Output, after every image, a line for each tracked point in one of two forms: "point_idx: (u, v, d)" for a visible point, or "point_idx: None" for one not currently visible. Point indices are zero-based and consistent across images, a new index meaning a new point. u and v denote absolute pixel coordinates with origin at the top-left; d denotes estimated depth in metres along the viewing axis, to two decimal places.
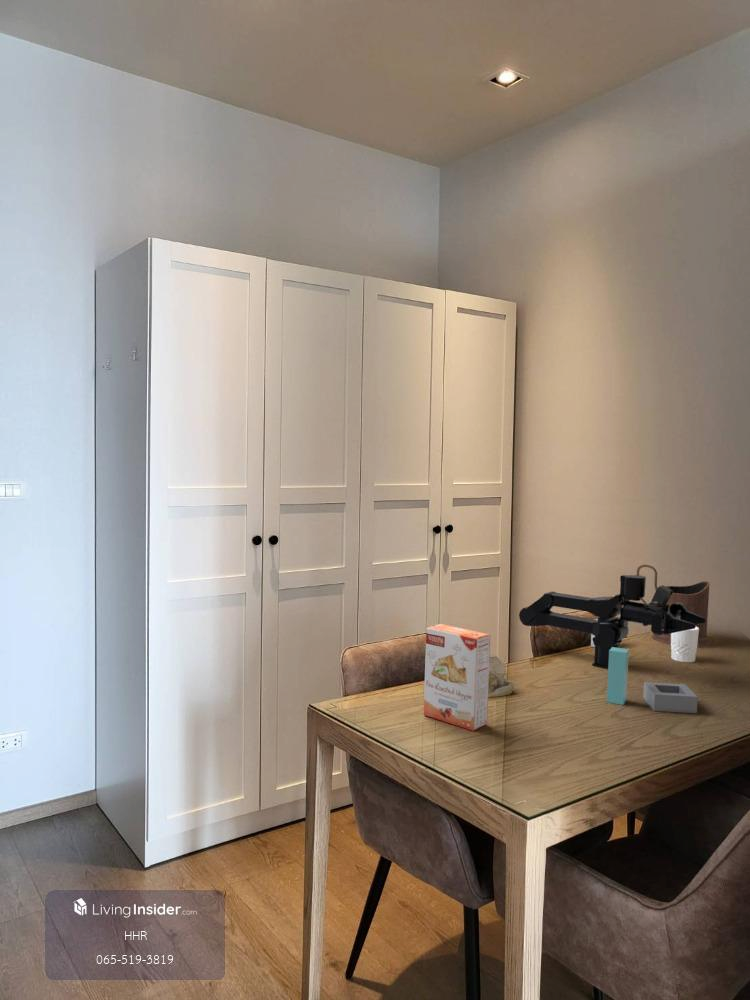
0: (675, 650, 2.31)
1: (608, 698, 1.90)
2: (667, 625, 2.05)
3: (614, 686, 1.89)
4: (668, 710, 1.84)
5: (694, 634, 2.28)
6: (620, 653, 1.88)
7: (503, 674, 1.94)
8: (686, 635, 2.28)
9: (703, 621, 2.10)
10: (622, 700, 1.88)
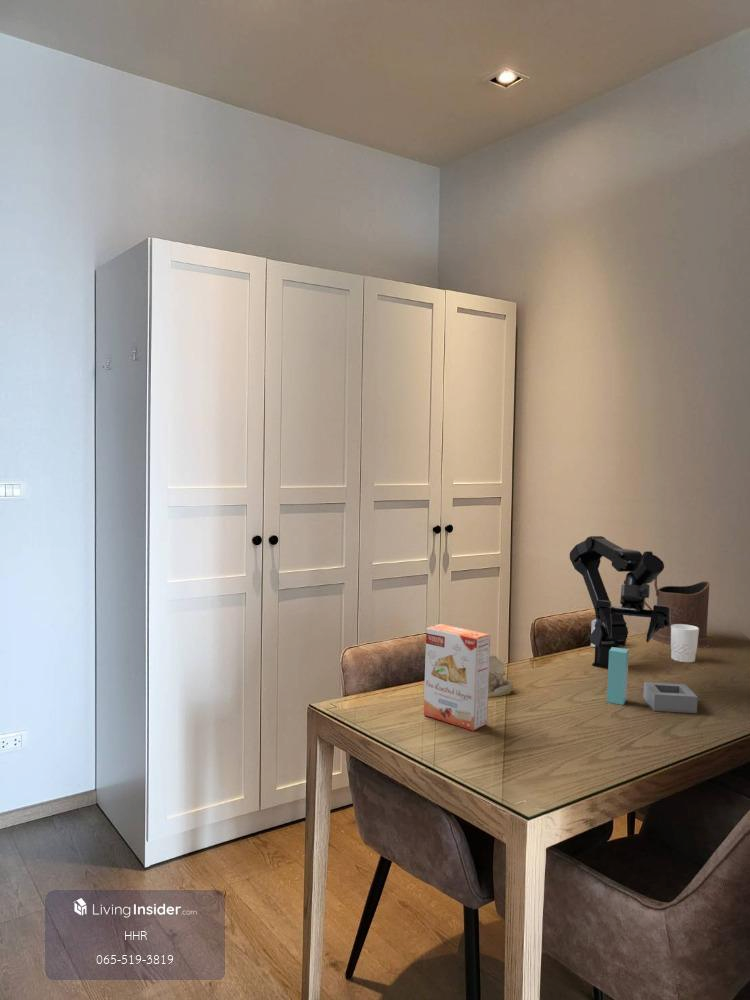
0: (675, 650, 2.31)
1: (608, 698, 1.90)
2: (604, 617, 2.04)
3: (614, 686, 1.89)
4: (668, 710, 1.84)
5: (694, 634, 2.28)
6: (620, 653, 1.88)
7: (502, 674, 1.95)
8: (686, 635, 2.28)
9: None
10: (622, 700, 1.88)
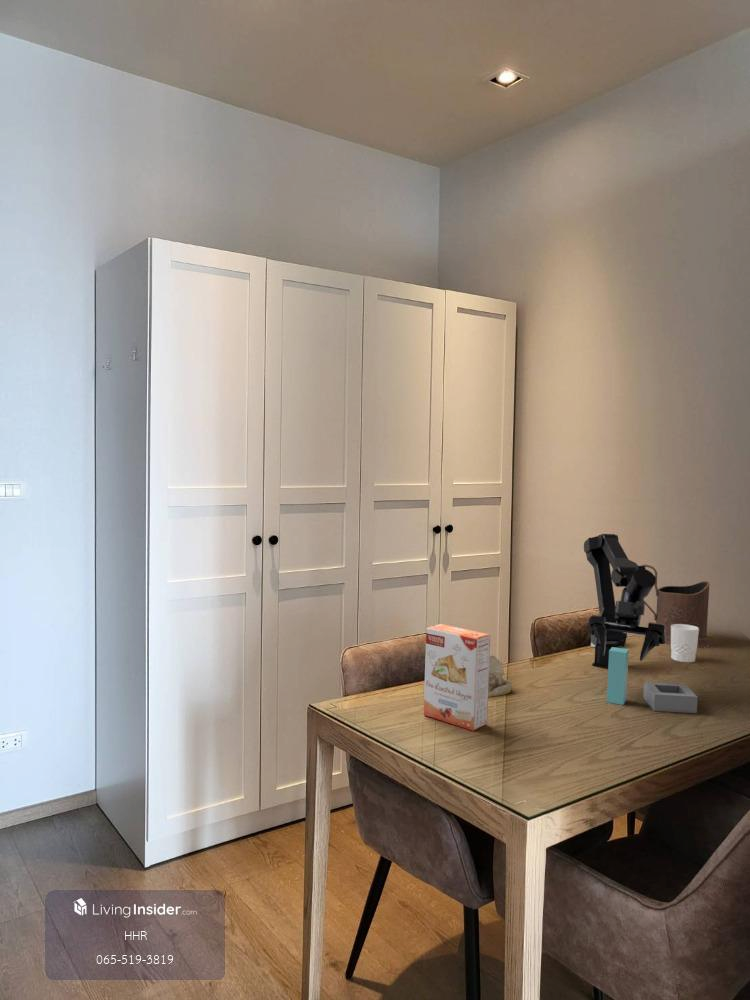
0: (675, 650, 2.31)
1: (608, 698, 1.90)
2: (598, 633, 2.01)
3: (614, 686, 1.89)
4: (668, 710, 1.84)
5: (694, 634, 2.28)
6: (620, 653, 1.88)
7: (501, 673, 1.95)
8: (686, 635, 2.28)
9: None
10: (622, 700, 1.88)
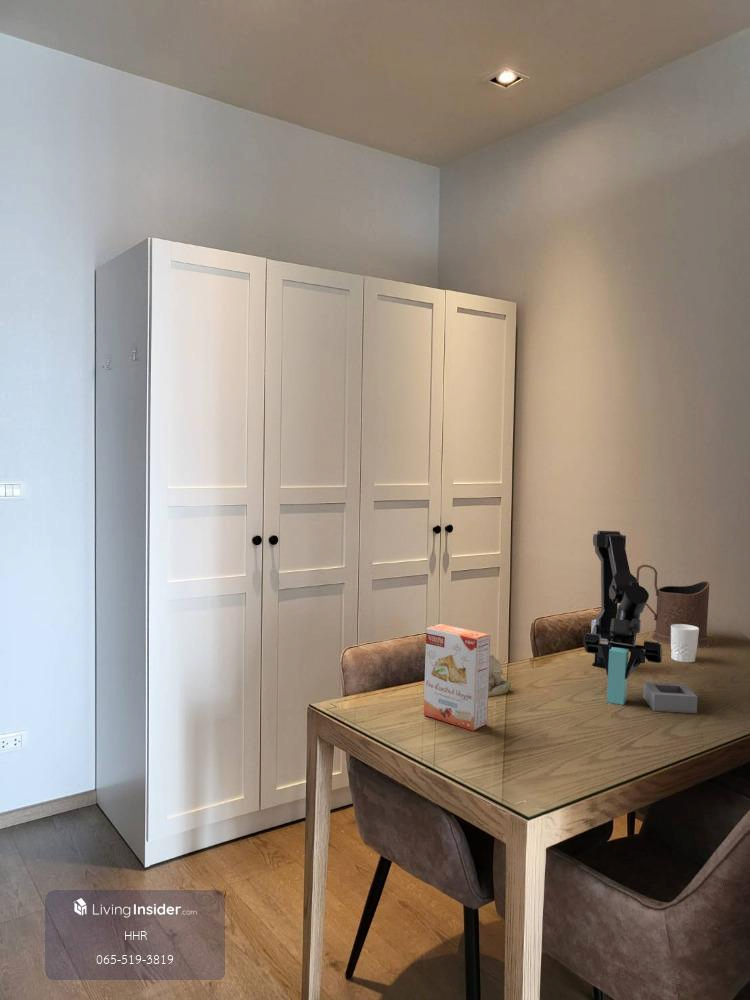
0: (675, 650, 2.31)
1: (608, 698, 1.90)
2: (602, 652, 1.96)
3: (614, 685, 1.89)
4: (668, 710, 1.84)
5: (694, 634, 2.28)
6: (620, 653, 1.88)
7: (500, 673, 1.95)
8: (686, 635, 2.28)
9: None
10: (622, 700, 1.88)
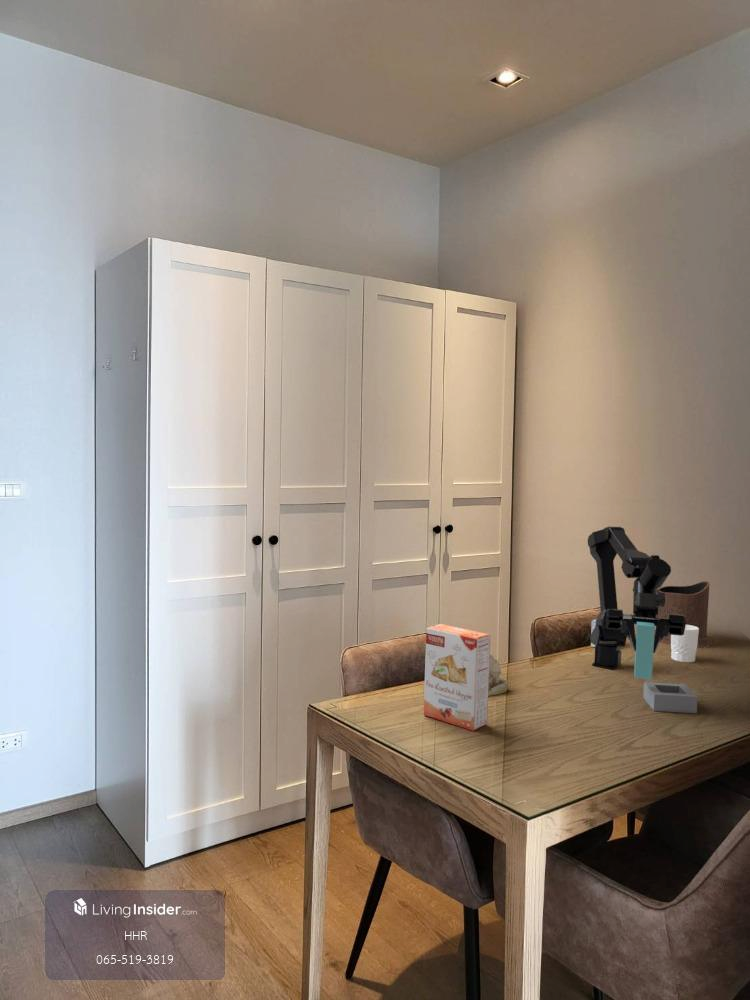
0: (675, 650, 2.31)
1: (636, 673, 1.88)
2: (625, 628, 1.93)
3: (643, 660, 1.87)
4: (668, 710, 1.84)
5: (694, 634, 2.28)
6: (649, 627, 1.86)
7: (498, 672, 1.96)
8: (686, 635, 2.28)
9: (653, 650, 1.87)
10: (651, 674, 1.87)
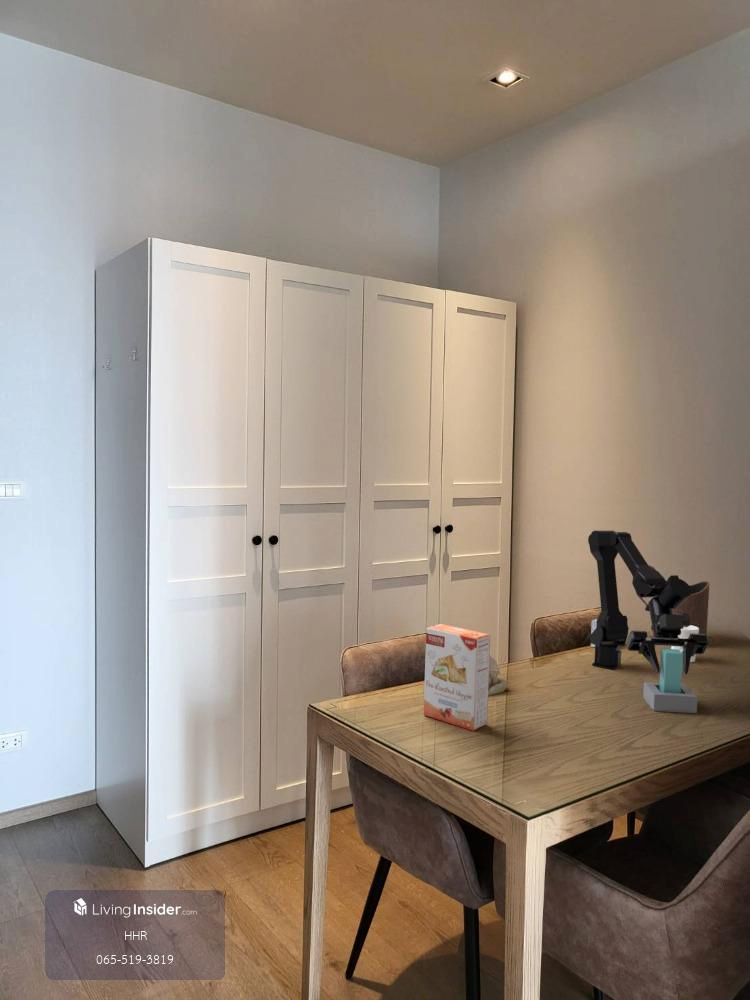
0: None
1: None
2: (644, 649, 1.92)
3: (671, 688, 1.87)
4: (668, 710, 1.84)
5: None
6: (677, 654, 1.86)
7: (497, 672, 1.96)
8: (686, 635, 2.28)
9: (685, 672, 1.87)
10: None
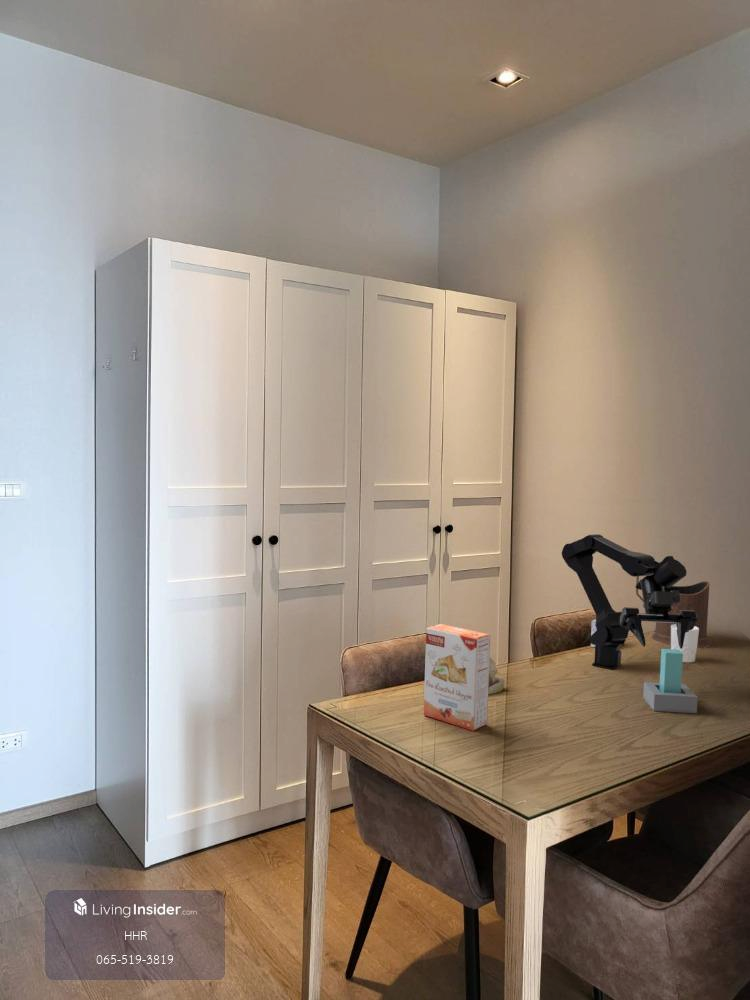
0: None
1: None
2: (631, 624, 2.02)
3: (671, 688, 1.87)
4: (668, 710, 1.84)
5: (694, 634, 2.28)
6: (677, 654, 1.86)
7: (495, 671, 1.97)
8: (686, 635, 2.28)
9: (680, 646, 1.96)
10: None
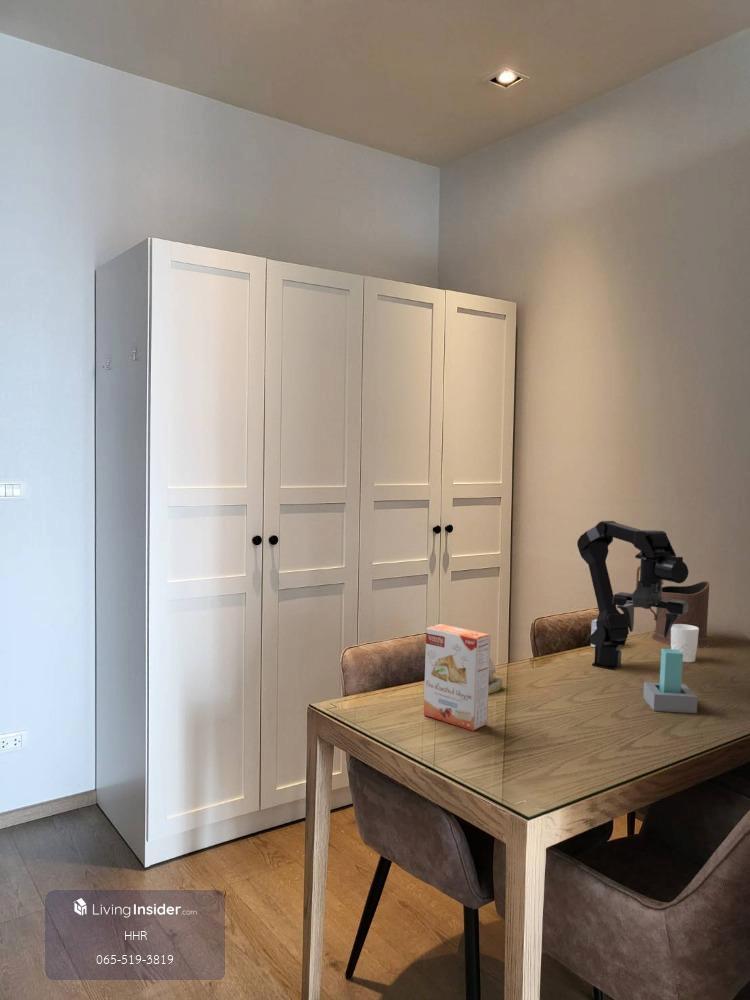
0: None
1: None
2: None
3: (671, 688, 1.87)
4: (668, 710, 1.84)
5: (694, 634, 2.28)
6: (677, 654, 1.86)
7: (493, 671, 1.97)
8: (686, 635, 2.28)
9: None
10: None
